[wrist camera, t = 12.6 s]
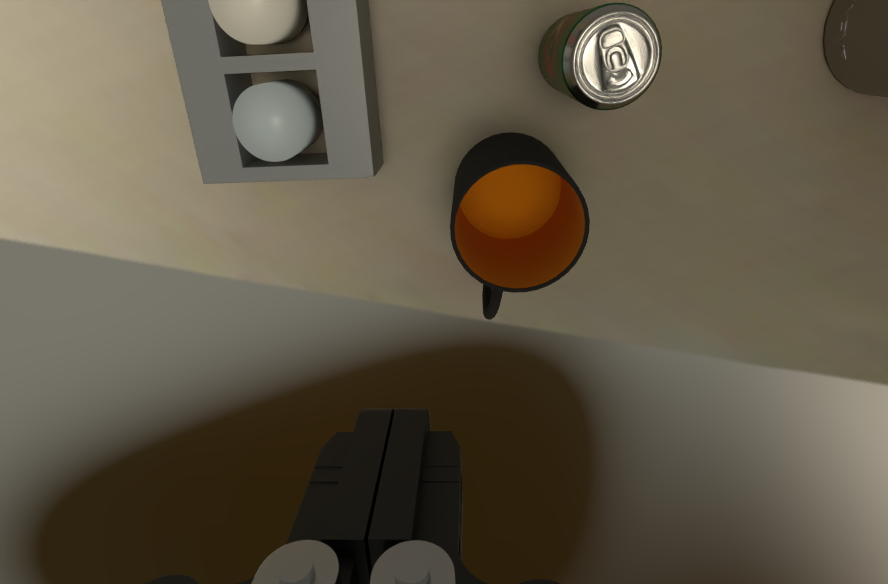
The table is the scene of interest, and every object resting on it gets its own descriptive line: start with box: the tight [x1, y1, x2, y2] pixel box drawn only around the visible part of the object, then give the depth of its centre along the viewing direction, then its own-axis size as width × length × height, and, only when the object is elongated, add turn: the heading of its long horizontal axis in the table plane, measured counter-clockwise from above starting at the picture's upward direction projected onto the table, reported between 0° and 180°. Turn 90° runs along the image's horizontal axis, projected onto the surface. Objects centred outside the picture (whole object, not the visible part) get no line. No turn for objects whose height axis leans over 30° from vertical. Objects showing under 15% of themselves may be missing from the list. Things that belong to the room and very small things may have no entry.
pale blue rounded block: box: [232, 80, 323, 162], centre depth 37 cm, size 5×5×4 cm
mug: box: [450, 133, 590, 319], centre depth 38 cm, size 8×12×10 cm
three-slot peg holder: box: [161, 0, 383, 184], centre depth 35 cm, size 12×22×4 cm, turn 3°
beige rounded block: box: [208, 0, 308, 44], centre depth 34 cm, size 5×5×4 cm
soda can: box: [539, 3, 662, 110], centre depth 33 cm, size 5×5×12 cm
